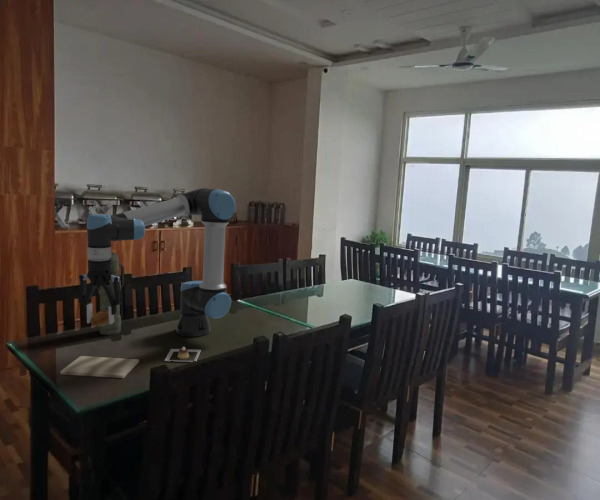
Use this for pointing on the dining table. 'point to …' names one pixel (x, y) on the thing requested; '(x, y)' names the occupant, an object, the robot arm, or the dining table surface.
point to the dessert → (182, 354)
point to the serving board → (100, 367)
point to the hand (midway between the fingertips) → (100, 322)
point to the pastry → (101, 318)
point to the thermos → (104, 300)
